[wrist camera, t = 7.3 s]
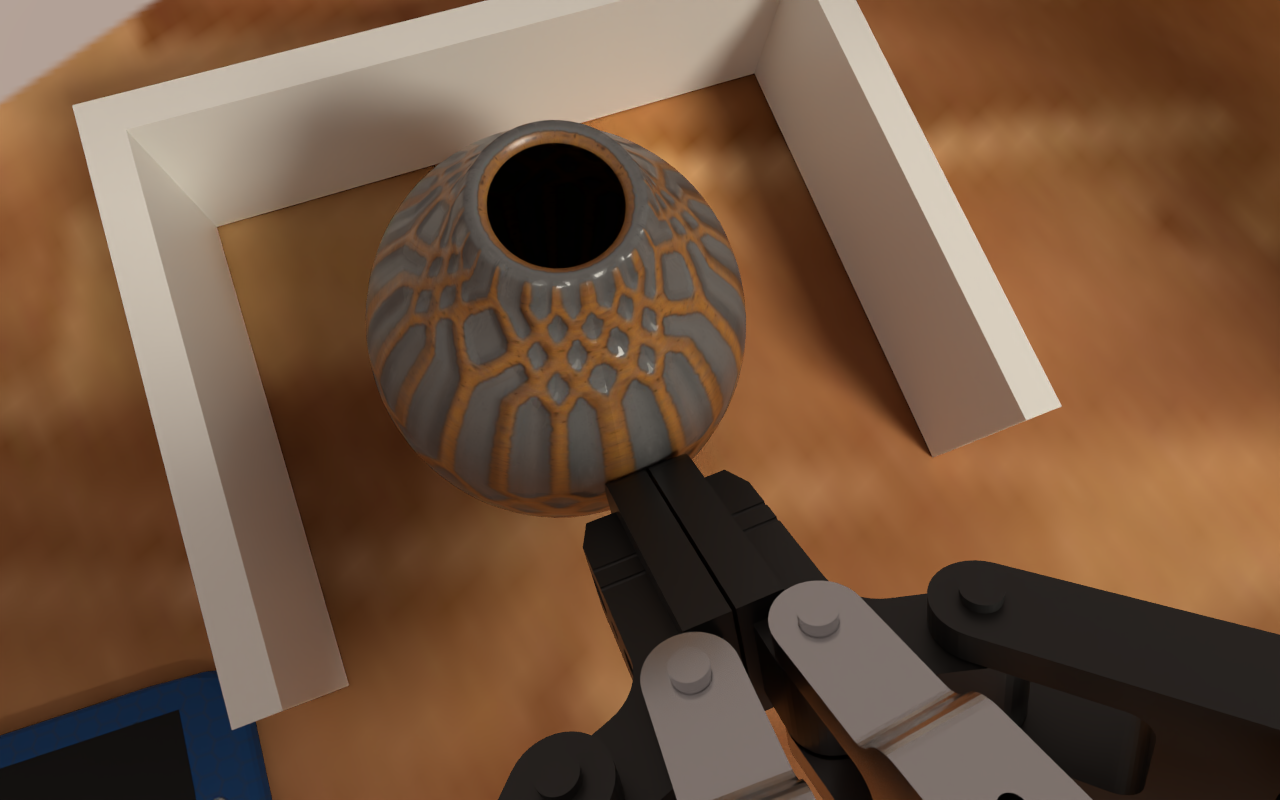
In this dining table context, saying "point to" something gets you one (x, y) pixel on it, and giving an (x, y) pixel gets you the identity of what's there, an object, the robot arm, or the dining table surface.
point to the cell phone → (138, 750)
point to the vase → (554, 317)
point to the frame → (427, 135)
